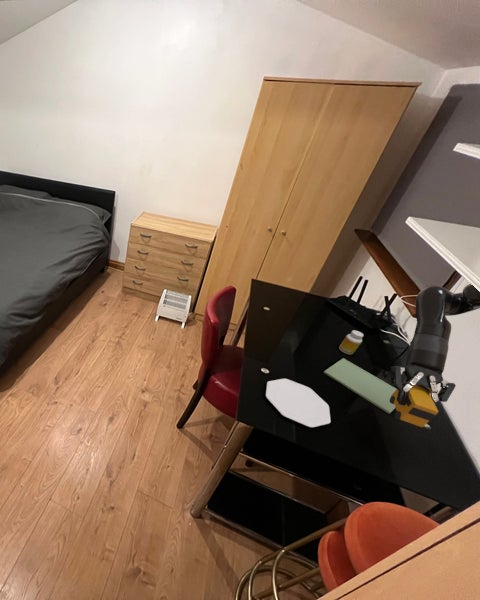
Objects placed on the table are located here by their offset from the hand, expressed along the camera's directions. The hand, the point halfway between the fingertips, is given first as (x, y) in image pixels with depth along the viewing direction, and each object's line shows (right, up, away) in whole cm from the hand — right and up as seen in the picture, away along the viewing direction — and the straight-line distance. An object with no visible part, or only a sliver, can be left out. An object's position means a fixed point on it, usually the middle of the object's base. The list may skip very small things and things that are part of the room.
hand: (414, 408), depth 91 cm
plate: (-19, -6, +22) cm, 30 cm away
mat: (+14, -2, +32) cm, 35 cm away
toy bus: (+1, -3, +4) cm, 5 cm away
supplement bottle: (+21, +9, +49) cm, 54 cm away
